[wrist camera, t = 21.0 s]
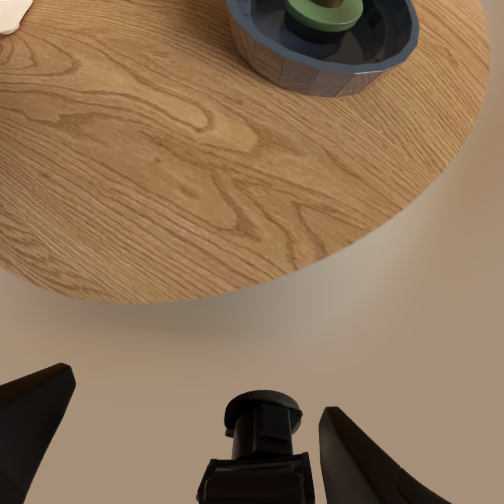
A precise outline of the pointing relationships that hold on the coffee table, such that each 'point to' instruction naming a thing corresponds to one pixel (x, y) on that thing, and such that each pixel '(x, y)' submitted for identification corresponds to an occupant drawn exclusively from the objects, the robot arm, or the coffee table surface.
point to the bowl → (324, 46)
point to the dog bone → (12, 14)
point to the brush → (321, 18)
